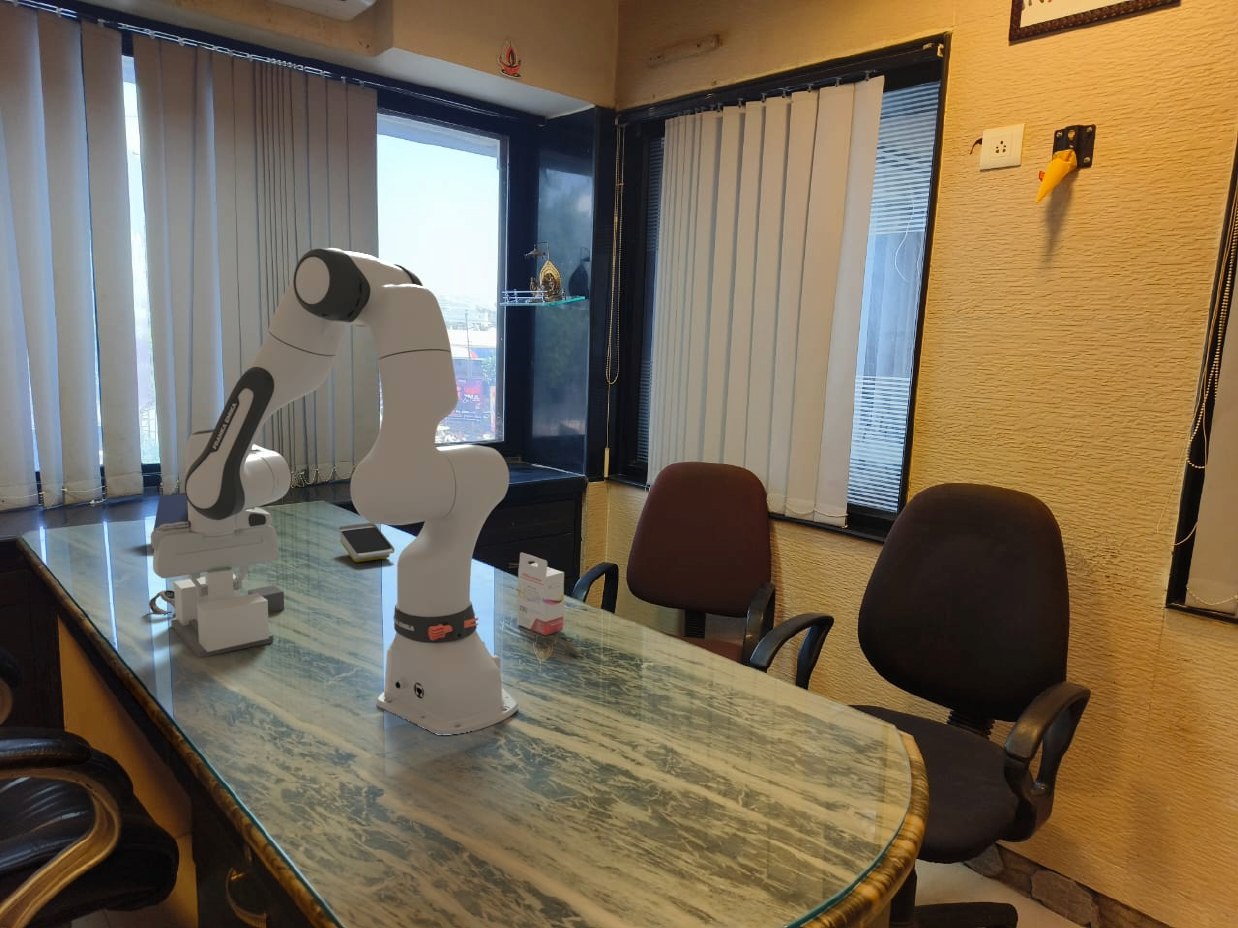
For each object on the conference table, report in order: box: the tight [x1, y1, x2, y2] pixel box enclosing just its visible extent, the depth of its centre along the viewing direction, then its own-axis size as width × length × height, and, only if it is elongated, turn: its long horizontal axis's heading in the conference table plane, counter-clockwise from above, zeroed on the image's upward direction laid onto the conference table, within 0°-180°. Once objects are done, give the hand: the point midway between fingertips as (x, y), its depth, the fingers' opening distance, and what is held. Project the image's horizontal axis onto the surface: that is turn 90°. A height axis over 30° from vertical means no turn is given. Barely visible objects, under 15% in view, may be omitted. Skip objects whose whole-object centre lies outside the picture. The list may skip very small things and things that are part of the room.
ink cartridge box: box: [516, 552, 565, 636], centre depth 153 cm, size 9×5×15 cm, turn 47°
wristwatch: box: [148, 589, 176, 617], centre depth 152 cm, size 4×6×5 cm, turn 79°
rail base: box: [170, 573, 274, 658], centre depth 143 cm, size 20×12×8 cm, turn 43°
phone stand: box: [152, 493, 188, 554], centre depth 198 cm, size 12×12×12 cm
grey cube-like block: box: [247, 584, 285, 614], centre depth 157 cm, size 5×5×4 cm
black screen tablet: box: [338, 522, 395, 563], centre depth 196 cm, size 9×4×15 cm
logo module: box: [204, 567, 234, 602], centre depth 143 cm, size 7×4×7 cm, turn 32°
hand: (219, 592), depth 143 cm, fingers closed on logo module, 4 cm apart
